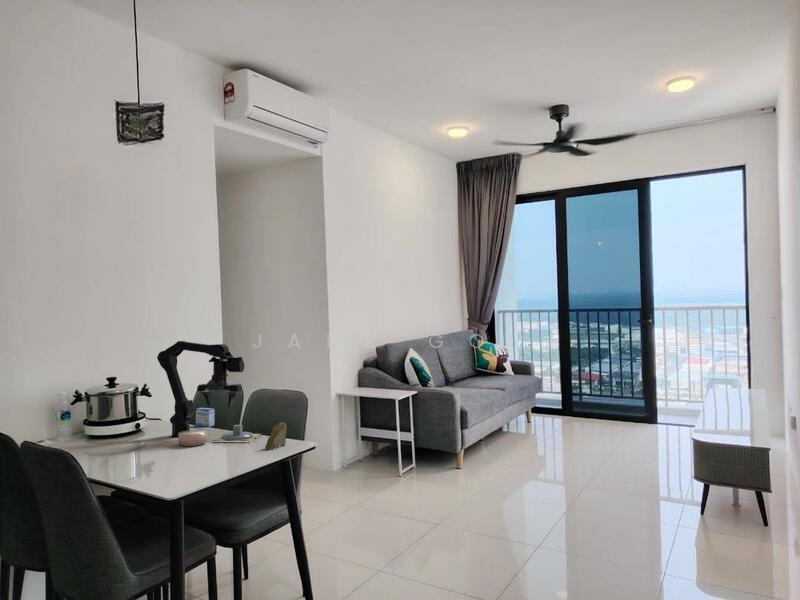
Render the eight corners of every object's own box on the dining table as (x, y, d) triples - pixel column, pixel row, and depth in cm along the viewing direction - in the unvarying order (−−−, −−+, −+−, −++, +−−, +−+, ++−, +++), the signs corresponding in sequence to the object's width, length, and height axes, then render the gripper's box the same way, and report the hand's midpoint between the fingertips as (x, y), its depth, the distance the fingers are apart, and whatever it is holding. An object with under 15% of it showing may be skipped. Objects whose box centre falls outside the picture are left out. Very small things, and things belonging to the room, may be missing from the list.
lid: (216, 440, 226) (217, 428, 227) (229, 433, 239) (229, 422, 240) (246, 440, 225) (246, 428, 226) (257, 434, 238) (257, 422, 239)
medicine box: (195, 426, 265) (195, 408, 265) (201, 424, 269) (201, 407, 269) (209, 427, 262) (209, 409, 263) (214, 425, 267) (214, 407, 267)
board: (213, 442, 226) (213, 440, 226) (226, 435, 240) (226, 433, 240) (249, 442, 225) (249, 440, 225) (261, 436, 239) (261, 433, 239)
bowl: (173, 447, 218) (173, 434, 218) (186, 441, 229) (186, 429, 229) (199, 447, 217) (199, 434, 217) (211, 441, 228) (211, 429, 228)
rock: (268, 445, 208) (292, 439, 214) (261, 426, 212) (285, 420, 218) (262, 458, 216) (286, 451, 221) (256, 439, 220) (279, 433, 225)
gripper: (191, 373, 233) (190, 409, 233) (233, 373, 232) (232, 410, 231) (203, 371, 244) (202, 406, 244) (242, 371, 243) (242, 406, 242)
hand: (219, 407), depth 240 cm, fingers open, 9 cm apart
